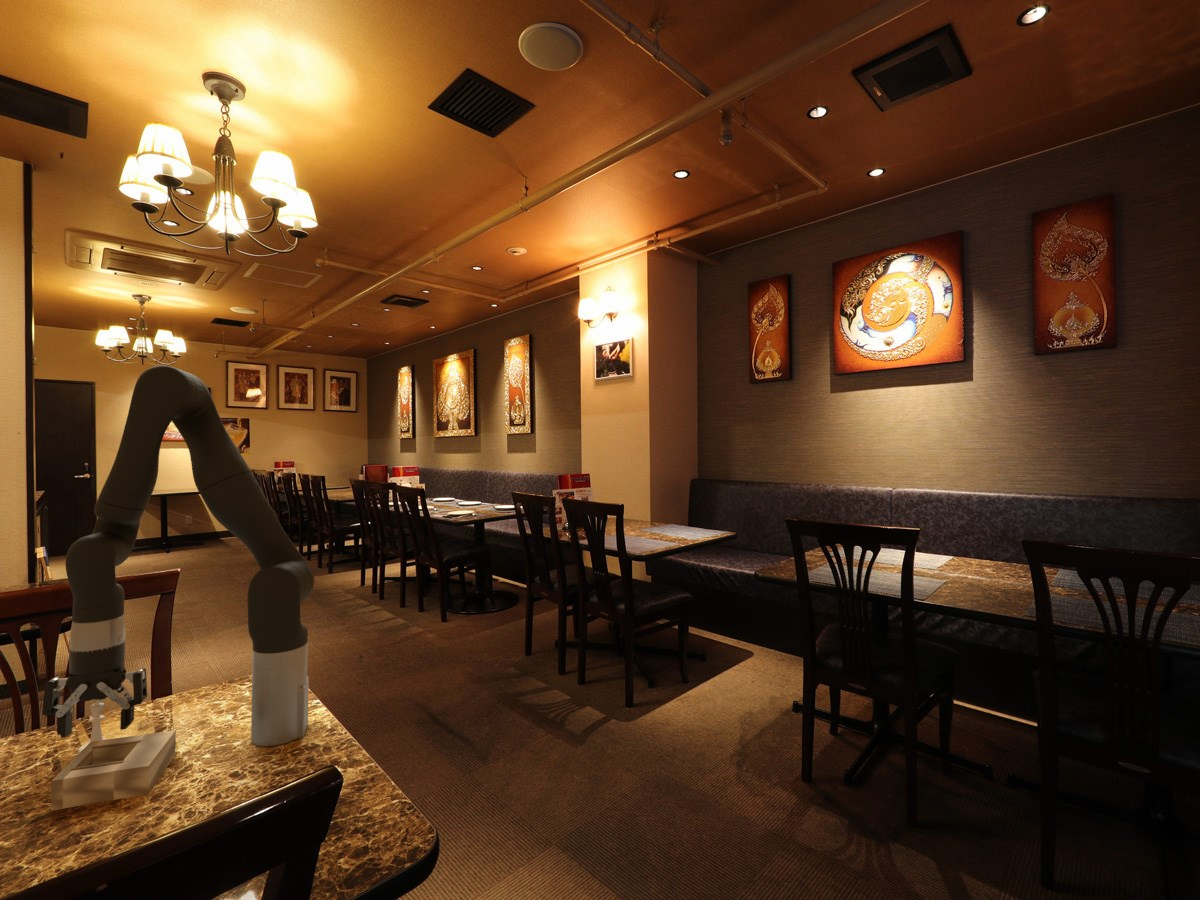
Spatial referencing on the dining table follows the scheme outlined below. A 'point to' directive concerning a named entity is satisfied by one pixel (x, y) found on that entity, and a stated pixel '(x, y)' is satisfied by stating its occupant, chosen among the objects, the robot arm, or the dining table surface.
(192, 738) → the dining table surface
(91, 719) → the chess piece
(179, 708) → the dining table surface
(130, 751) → the socket block
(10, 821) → the dining table surface
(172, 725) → the dining table surface
